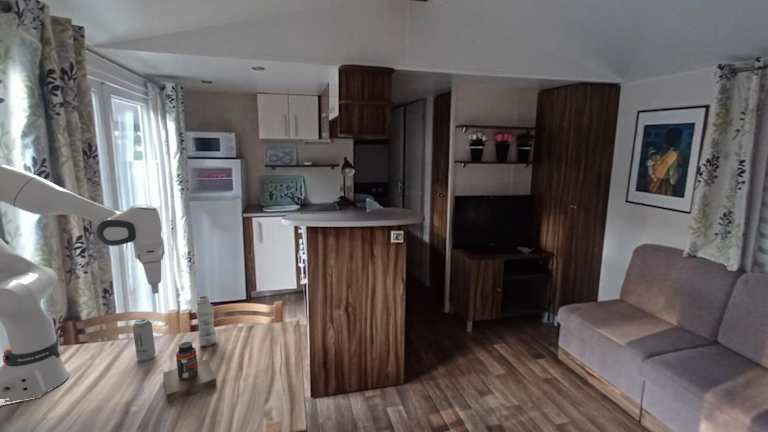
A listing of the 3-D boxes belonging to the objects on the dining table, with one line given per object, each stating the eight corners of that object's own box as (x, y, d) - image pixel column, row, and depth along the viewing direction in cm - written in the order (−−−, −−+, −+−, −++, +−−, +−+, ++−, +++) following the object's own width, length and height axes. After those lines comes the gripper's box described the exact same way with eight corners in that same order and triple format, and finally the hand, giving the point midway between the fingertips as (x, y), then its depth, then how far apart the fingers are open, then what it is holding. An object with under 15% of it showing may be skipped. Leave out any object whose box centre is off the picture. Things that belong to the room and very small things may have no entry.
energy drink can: (133, 361, 139) (127, 324, 136) (146, 352, 145) (141, 316, 142) (147, 363, 138) (142, 325, 135) (159, 354, 144) (155, 318, 141)
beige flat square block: (168, 403, 116) (167, 394, 116) (163, 380, 127) (162, 372, 127) (216, 386, 124) (215, 378, 123) (208, 366, 135) (207, 359, 135)
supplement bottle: (190, 381, 122) (186, 350, 120) (174, 379, 123) (170, 348, 121) (202, 371, 127) (199, 340, 125) (187, 369, 129) (183, 339, 126)
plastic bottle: (200, 341, 153) (195, 295, 149) (218, 339, 155) (213, 293, 151) (197, 349, 147) (192, 302, 143) (216, 347, 149) (211, 299, 145)
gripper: (137, 246, 136) (142, 282, 139) (140, 259, 120) (145, 300, 122) (157, 243, 140) (162, 278, 142) (162, 256, 123) (167, 295, 126)
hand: (154, 288), depth 132 cm, fingers open, 8 cm apart
